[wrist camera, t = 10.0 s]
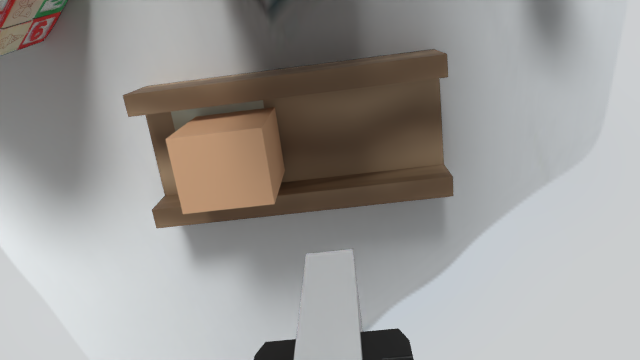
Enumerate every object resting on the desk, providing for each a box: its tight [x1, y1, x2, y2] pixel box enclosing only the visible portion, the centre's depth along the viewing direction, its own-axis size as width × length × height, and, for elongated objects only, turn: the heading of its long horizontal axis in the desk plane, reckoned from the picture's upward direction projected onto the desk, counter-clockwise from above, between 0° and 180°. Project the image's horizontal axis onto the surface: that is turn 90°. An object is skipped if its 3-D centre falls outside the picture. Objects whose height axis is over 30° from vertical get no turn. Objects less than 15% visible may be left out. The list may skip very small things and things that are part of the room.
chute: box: [123, 49, 453, 228], centre depth 37 cm, size 10×22×4 cm, turn 97°
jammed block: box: [165, 107, 285, 214], centre depth 34 cm, size 5×6×7 cm
